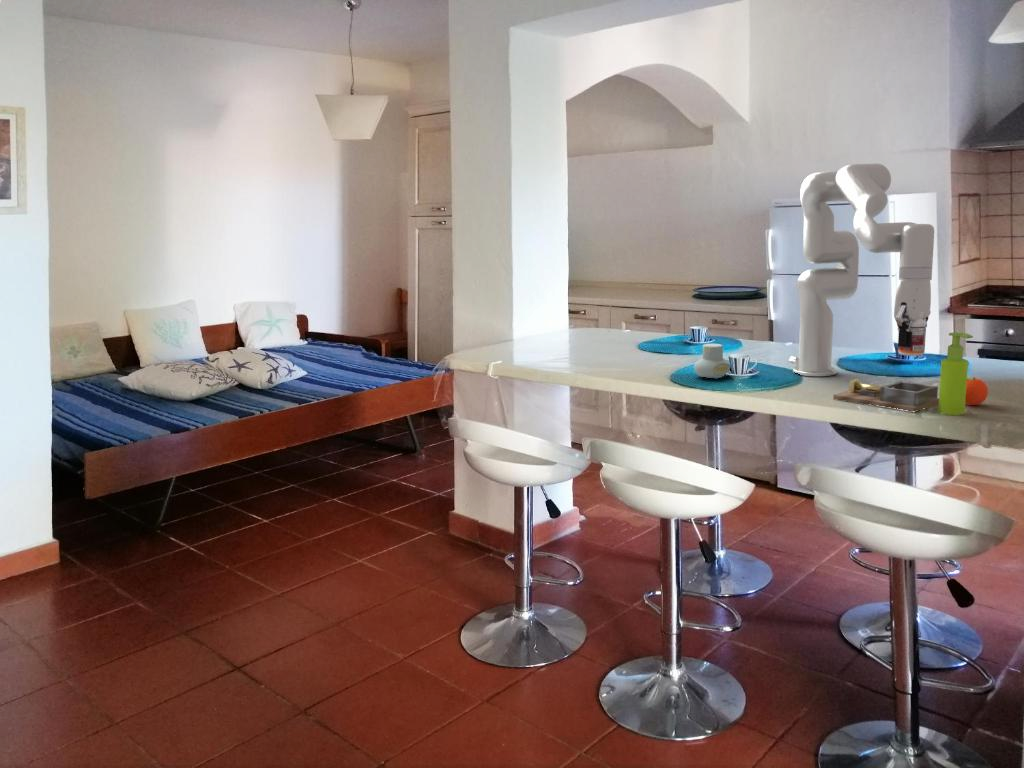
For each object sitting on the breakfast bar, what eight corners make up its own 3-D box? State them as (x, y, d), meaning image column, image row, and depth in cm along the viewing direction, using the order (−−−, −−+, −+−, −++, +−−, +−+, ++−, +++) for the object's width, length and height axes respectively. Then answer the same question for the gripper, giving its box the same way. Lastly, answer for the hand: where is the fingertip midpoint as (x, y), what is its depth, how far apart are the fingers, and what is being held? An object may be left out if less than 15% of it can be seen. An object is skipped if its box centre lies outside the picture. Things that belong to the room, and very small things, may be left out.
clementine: (953, 407, 228) (955, 379, 227) (950, 401, 234) (952, 374, 233) (988, 408, 225) (990, 380, 224) (985, 402, 232) (987, 375, 230)
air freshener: (707, 382, 268) (707, 348, 266) (689, 377, 275) (689, 345, 273) (735, 377, 273) (736, 344, 271) (717, 373, 280) (717, 341, 278)
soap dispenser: (956, 417, 218) (961, 335, 214) (932, 411, 224) (937, 332, 220) (973, 414, 220) (979, 333, 216) (949, 408, 227) (954, 330, 222)
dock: (833, 399, 241) (834, 382, 240) (861, 390, 249) (862, 374, 248) (913, 412, 224) (914, 394, 223) (940, 403, 233) (941, 385, 232)
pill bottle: (903, 351, 234) (905, 309, 231) (928, 353, 229) (930, 310, 227) (894, 354, 229) (896, 311, 227) (919, 357, 225) (921, 313, 223)
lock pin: (849, 391, 243) (849, 380, 242) (855, 389, 245) (855, 378, 244) (881, 396, 236) (882, 385, 235) (887, 394, 238) (887, 383, 237)
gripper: (918, 270, 233) (914, 339, 237) (883, 276, 223) (879, 348, 226) (947, 271, 228) (942, 342, 231) (912, 277, 217) (908, 351, 221)
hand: (911, 344), depth 229 cm, fingers closed on pill bottle, 6 cm apart
